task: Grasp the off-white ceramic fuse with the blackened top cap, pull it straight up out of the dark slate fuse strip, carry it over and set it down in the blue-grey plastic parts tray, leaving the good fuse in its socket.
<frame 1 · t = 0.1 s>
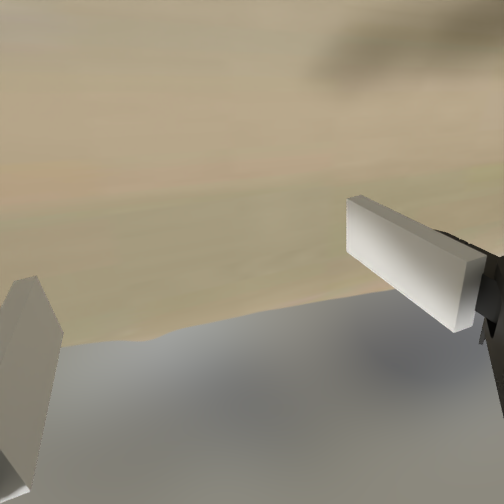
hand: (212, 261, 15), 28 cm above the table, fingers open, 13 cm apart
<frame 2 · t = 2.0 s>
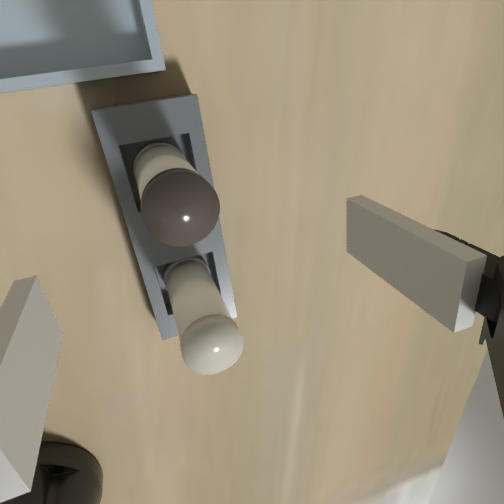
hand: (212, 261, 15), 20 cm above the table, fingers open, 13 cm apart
blown fuse: (160, 168, 32), resting on fuse strip
good fuse: (186, 274, 37), resting on fuse strip
fuse strip: (173, 223, 35), on the table
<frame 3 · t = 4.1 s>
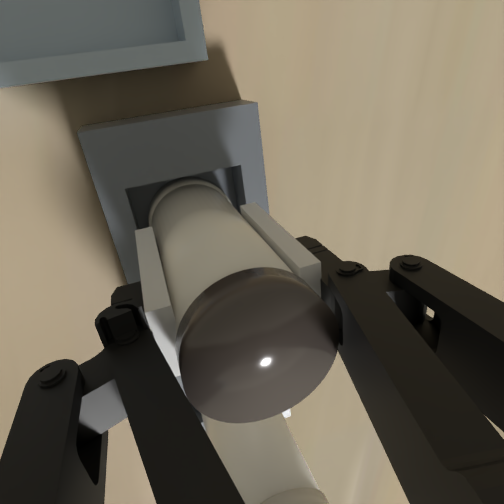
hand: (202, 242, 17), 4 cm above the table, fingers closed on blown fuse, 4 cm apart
blown fuse: (190, 217, 20), point 1 cm above the table, touching gripper
good fuse: (221, 361, 25), resting on fuse strip
fuse strip: (205, 293, 23), on the table
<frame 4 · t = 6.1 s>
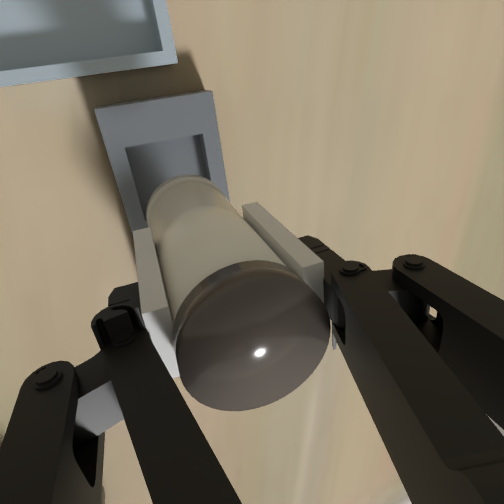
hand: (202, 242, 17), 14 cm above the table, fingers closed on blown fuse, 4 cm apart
blown fuse: (188, 214, 21), point 10 cm above the table, touching gripper
fuse strip: (183, 232, 32), on the table
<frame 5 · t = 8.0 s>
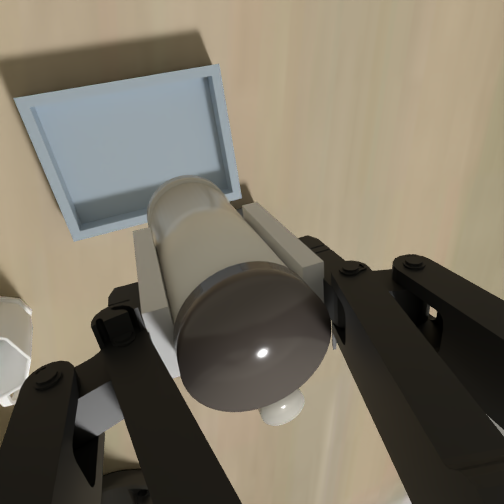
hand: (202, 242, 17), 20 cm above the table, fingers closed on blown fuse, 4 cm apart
blown fuse: (188, 215, 21), point 16 cm above the table, touching gripper
good fuse: (245, 335, 46), resting on fuse strip
parts tray: (142, 150, 34), on the table
cup: (13, 325, 36), on the table
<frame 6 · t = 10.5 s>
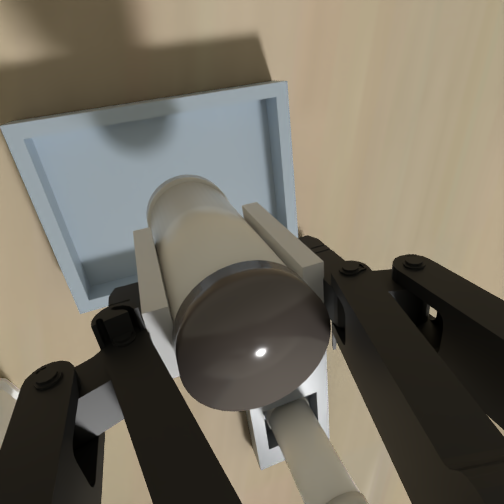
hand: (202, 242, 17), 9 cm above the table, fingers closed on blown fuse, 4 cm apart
blown fuse: (188, 214, 21), point 5 cm above the table, touching gripper
good fuse: (284, 405, 38), resting on fuse strip
parts tray: (174, 191, 25), on the table
fuse strip: (277, 363, 35), on the table
when the fingers open (4 cm above the table, at t = 12.1 s): blown fuse stays where it is, resting on parts tray.
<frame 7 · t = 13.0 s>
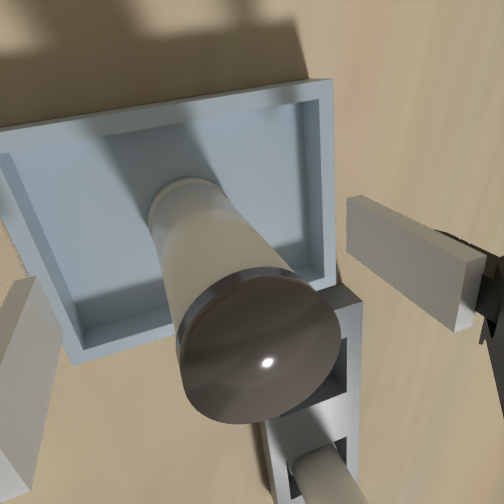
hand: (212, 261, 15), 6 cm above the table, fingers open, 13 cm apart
blown fuse: (190, 216, 20), point 1 cm above the table, touching parts tray
good fuse: (307, 448, 33), resting on fuse strip
parts tray: (187, 214, 21), on the table
fuse strip: (302, 403, 31), on the table
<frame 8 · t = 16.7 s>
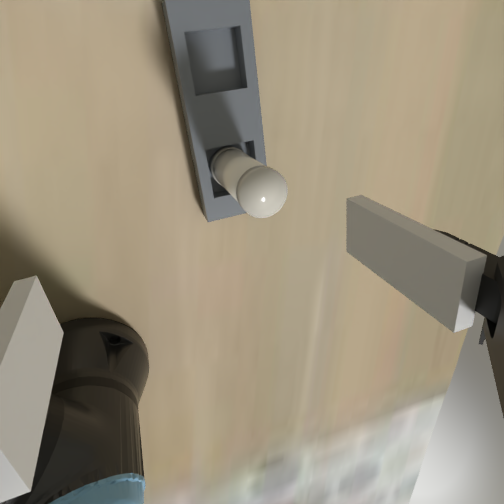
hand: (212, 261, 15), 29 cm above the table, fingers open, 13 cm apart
good fuse: (228, 166, 43), resting on fuse strip
fuse strip: (220, 116, 41), on the table
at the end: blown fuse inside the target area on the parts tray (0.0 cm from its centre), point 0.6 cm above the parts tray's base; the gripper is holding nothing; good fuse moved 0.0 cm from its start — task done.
